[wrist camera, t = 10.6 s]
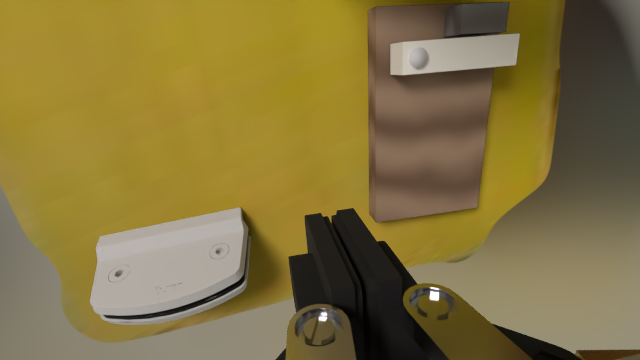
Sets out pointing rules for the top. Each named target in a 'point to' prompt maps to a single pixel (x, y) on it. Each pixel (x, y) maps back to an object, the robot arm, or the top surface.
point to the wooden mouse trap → (427, 113)
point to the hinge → (171, 269)
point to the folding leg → (453, 54)
